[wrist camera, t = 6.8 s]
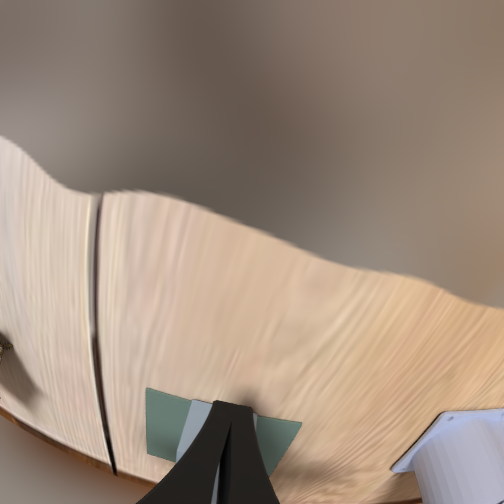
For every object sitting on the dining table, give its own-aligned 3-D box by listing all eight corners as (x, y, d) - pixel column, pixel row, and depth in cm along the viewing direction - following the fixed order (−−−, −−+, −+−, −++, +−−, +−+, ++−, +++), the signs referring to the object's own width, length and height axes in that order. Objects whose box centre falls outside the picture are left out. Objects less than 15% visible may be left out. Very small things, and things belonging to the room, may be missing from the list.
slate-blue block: (252, 467, 13) (227, 510, 16) (257, 413, 17) (233, 469, 20) (176, 450, 13) (172, 498, 16) (192, 399, 17) (183, 458, 20)
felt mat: (301, 422, 17) (302, 424, 17) (266, 478, 21) (266, 480, 20) (146, 387, 17) (145, 389, 17) (147, 451, 20) (147, 453, 20)
